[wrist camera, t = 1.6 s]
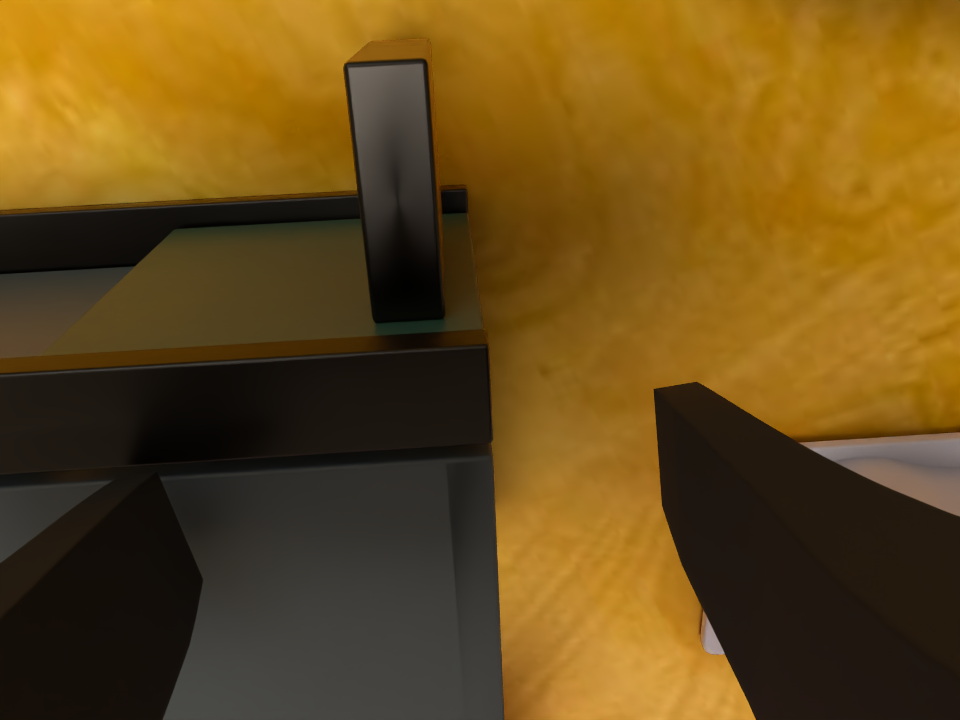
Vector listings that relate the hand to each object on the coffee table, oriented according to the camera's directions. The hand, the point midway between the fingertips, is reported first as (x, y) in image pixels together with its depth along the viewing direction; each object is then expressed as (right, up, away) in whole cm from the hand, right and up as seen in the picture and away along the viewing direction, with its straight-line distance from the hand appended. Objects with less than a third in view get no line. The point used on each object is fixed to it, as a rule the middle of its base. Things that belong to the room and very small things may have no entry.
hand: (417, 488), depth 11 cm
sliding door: (-3, +7, +6) cm, 10 cm away
